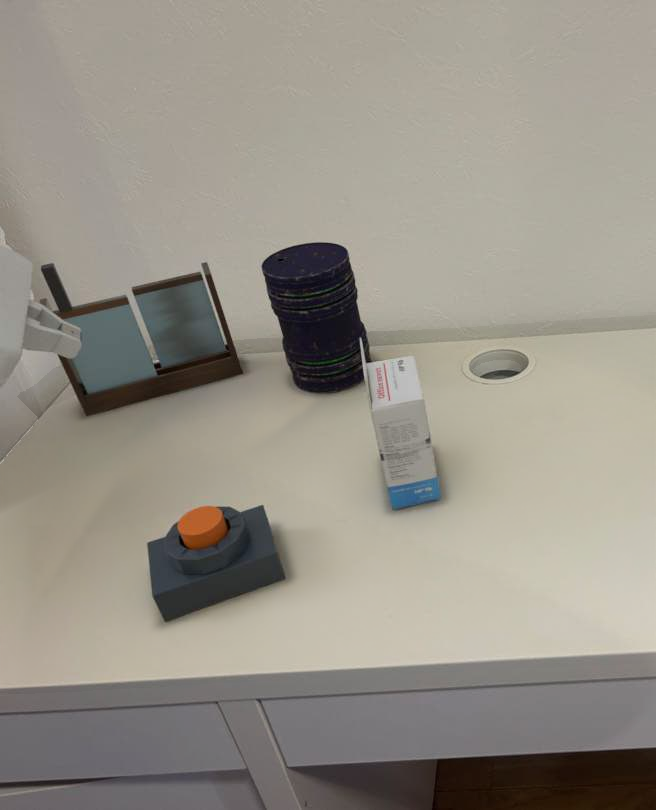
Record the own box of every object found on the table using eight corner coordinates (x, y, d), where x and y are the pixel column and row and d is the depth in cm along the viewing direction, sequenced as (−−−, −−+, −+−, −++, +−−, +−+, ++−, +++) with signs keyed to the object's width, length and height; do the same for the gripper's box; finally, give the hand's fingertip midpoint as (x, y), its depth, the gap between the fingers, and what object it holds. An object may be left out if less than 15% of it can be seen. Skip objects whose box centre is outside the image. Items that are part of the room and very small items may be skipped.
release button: (186, 555, 66) (179, 540, 65) (181, 529, 68) (175, 514, 67) (230, 540, 67) (224, 525, 66) (225, 515, 70) (219, 500, 69)
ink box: (443, 500, 76) (420, 370, 68) (391, 511, 76) (362, 381, 67) (431, 449, 83) (409, 325, 75) (383, 459, 83) (356, 335, 74)
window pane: (89, 399, 93) (30, 271, 84) (89, 394, 94) (31, 267, 85) (159, 381, 95) (109, 254, 86) (158, 376, 96) (109, 250, 87)
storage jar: (382, 350, 101) (359, 240, 93) (362, 393, 93) (335, 276, 85) (306, 352, 102) (277, 243, 94) (280, 394, 94) (246, 279, 86)
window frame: (86, 416, 93) (37, 313, 86) (86, 399, 96) (39, 299, 89) (243, 373, 99) (211, 273, 91) (238, 359, 102) (207, 261, 94)
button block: (165, 622, 66) (144, 580, 63) (159, 568, 71) (139, 527, 68) (286, 578, 69) (271, 536, 66) (271, 530, 75) (257, 489, 72)
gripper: (-109, 251, 68) (62, 324, 77) (-166, 358, 52) (57, 434, 61) (-74, 190, 67) (96, 271, 75) (-121, 281, 51) (99, 369, 60)
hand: (78, 344), depth 68 cm, fingers closed
